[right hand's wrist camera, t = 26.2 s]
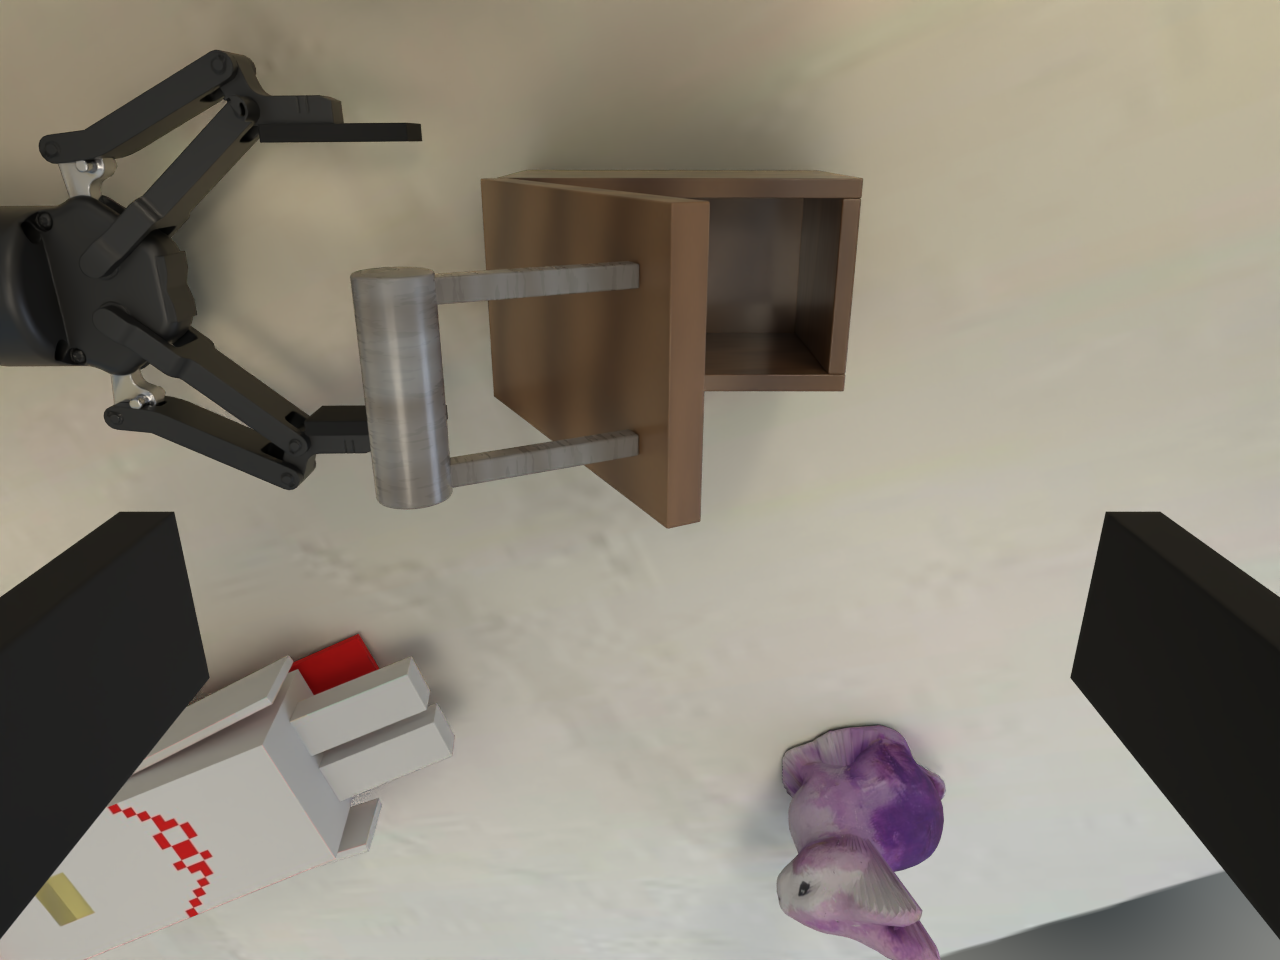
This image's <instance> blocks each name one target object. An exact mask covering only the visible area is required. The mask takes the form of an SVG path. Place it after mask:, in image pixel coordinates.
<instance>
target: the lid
mask: <svg viewBox="0 0 1280 960" xmlns="http://www.w3.org/2000/svg"><path fill="white" fill-rule="evenodd" d="M481 193H482V209H483V225H484V242H485V258H486V270H484V271H469V272H454V273H438V274H435V273H434V271H432V270H430V269H426V268H418V267H383V268H372V269H365V270H360V271H356V272H354V273H352V274H351V276H350V279H351V288H352V296H353V304H354V313H355V321H356V330H357V338H358V347H359V355H360V364H361V372H362V381H363V389H364V397H365V406H366V414H367V423H368V431H369V440H370V448H371V457H372V465H373V474H374V482H375V490H376V498H377V500H378V502H379V503H380V504H382V505H384V506H386V507H390V508H395V509H418V508H425V507H430V506H433V505H436V504H439V503H441V502H443V501H445V500H447V499H448V498H449V497H450V496H451V494H452V492H453V487H459V486H465V485H470V484H476V483H482V482H488V481H493V480H499V479H505V478H511V477H517V476H522V475H528V474H534V473H540V472H545V471H551V470H557V469H563V468H568V467H574V466H580V465H585V466H586V467H587V468H588V469H590V470H591V471H592V472H594V473H595V474H596V475H598V476H599V477H600V478H602V479H603V480H604V481H605V482H607V483H608V484H609V485H611V486H612V487H613V488H615V489H616V490H617V491H619V492H620V493H621V494H622V495H624V496H625V497H626V498H628V499H629V500H630V501H632V502H633V503H634V504H636V505H637V506H638V507H639V508H641V509H642V510H643V511H645V512H646V513H647V514H649V515H650V516H651V517H652V518H654V519H655V520H656V521H658V522H659V523H660V524H662V525H663V526H664V527H666V528H673V527H677V526H682V525H687V524H691V523H696V522H700V517H701V484H702V450H703V416H704V383H705V349H706V316H707V282H708V248H709V215H710V202H709V201H704V200H695V199H686V198H677V197H669V196H660V195H651V194H642V193H633V192H625V191H616V190H607V189H598V188H589V187H580V186H572V185H563V184H554V183H545V182H536V181H528V180H519V179H510V178H486V179H481ZM476 301H488V306H489V323H490V339H491V355H492V371H493V387H494V397H496V398H497V399H498V400H500V401H501V402H502V403H503V404H505V405H506V406H507V407H509V408H510V409H511V410H513V411H514V412H515V413H517V414H518V415H519V416H520V417H522V418H523V419H524V420H526V421H527V422H528V423H530V424H531V425H532V426H534V427H535V428H536V429H537V430H539V431H540V432H541V433H543V434H544V435H545V436H547V437H548V438H549V439H551V440H552V442H546V443H539V444H533V445H527V446H520V447H514V448H508V449H501V450H495V451H489V452H482V453H476V454H470V455H464V456H457V457H451V458H450V452H449V440H448V428H447V416H446V404H445V392H444V380H443V368H442V356H441V344H440V332H439V320H438V308H437V305H439V304H451V303H463V302H476Z"/></svg>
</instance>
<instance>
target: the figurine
mask: <svg viewBox="0 0 1280 960" xmlns="http://www.w3.org/2000/svg"><path fill="white" fill-rule="evenodd" d="M782 767H783V769H782V770H783V772H782V774H783V775H782V777H783V778H782V780H783V784H784V788H786V789H787V793H788V794H789V795H790V796H791V797H792V798H793V799H792V801H791V803H790V807H789V829H790V832H791V836H792V838H793V841H794V844H795V846H796V848H797V851H798V855H797V856H796V857H795V858H794V859H793V860H792V861H791V862H790V863H789V864H788V865H787V866H786V867H785V868H784V869H783V870H782V872H781V873H780V874H779V876H778V878H777V894H778V898H779V904H780V907H781V909H782V910H783V912H784V913H785V914H786V915H788V916H790V917H792V918H793V919H795V920H796V921H798V922H800V923H802V924H803V925H805V926H807V927H810V928H812V929H814V930H817V931H820V932H823V933H827V934H833V935H838V936H844V937H848V938H851V939H854V940H857V941H859V942H861V943H863V944H865V945H866V946H868V947H870V948H872V949H874V950H876V951H878V952H879V953H881V954H882V955H884V956H885V957H887V958H889V959H892V960H940V956H939V952H938V949H937V947H936V945H935V943H934V942H933V940H932V939H931V937H930V936H929V934H928V933H927V931H926V930H925V928H924V927H923V925H922V924H921V922H920V918H921V914H922V909H921V908H920V907H919V905H918V904H917V903H916V901H915V900H914V899H913V897H912V896H911V895H910V893H909V892H908V890H907V889H906V888H905V886H904V885H903V884H902V882H901V881H900V880H899V878H898V877H897V875H896V874H895V873H894V872H895V871H900V870H904V869H907V868H910V867H913V866H915V865H917V864H919V863H921V862H923V861H924V860H926V859H927V858H928V857H930V856H931V855H932V853H933V852H934V851H935V849H936V848H937V846H938V844H939V841H940V838H941V834H942V830H943V823H944V816H943V806H942V803H941V799H942V798H943V797H944V796H945V792H946V787H945V783H944V781H943V780H942V779H941V778H940V776H938V775H937V774H935V773H933V772H931V771H928V770H926V769H925V768H923V767H921V766H920V765H918V764H916V762H915V761H914V759H913V757H912V754H911V751H910V749H909V747H908V744H907V742H906V741H905V739H904V738H903V736H902V735H901V734H900V733H899V732H897V731H895V730H893V729H891V728H888V727H885V726H881V725H876V726H863V727H851V728H843V729H838V730H834V731H832V730H830V731H829V732H827V733H826V734H824V735H822V736H820V737H818V738H817V739H815V740H814V741H813V742H809V743H807V744H805V745H801V746H796V747H794V748H792V749H790V750H788V751H787V752H786V753H785V755H784V757H783V766H782Z"/></svg>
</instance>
